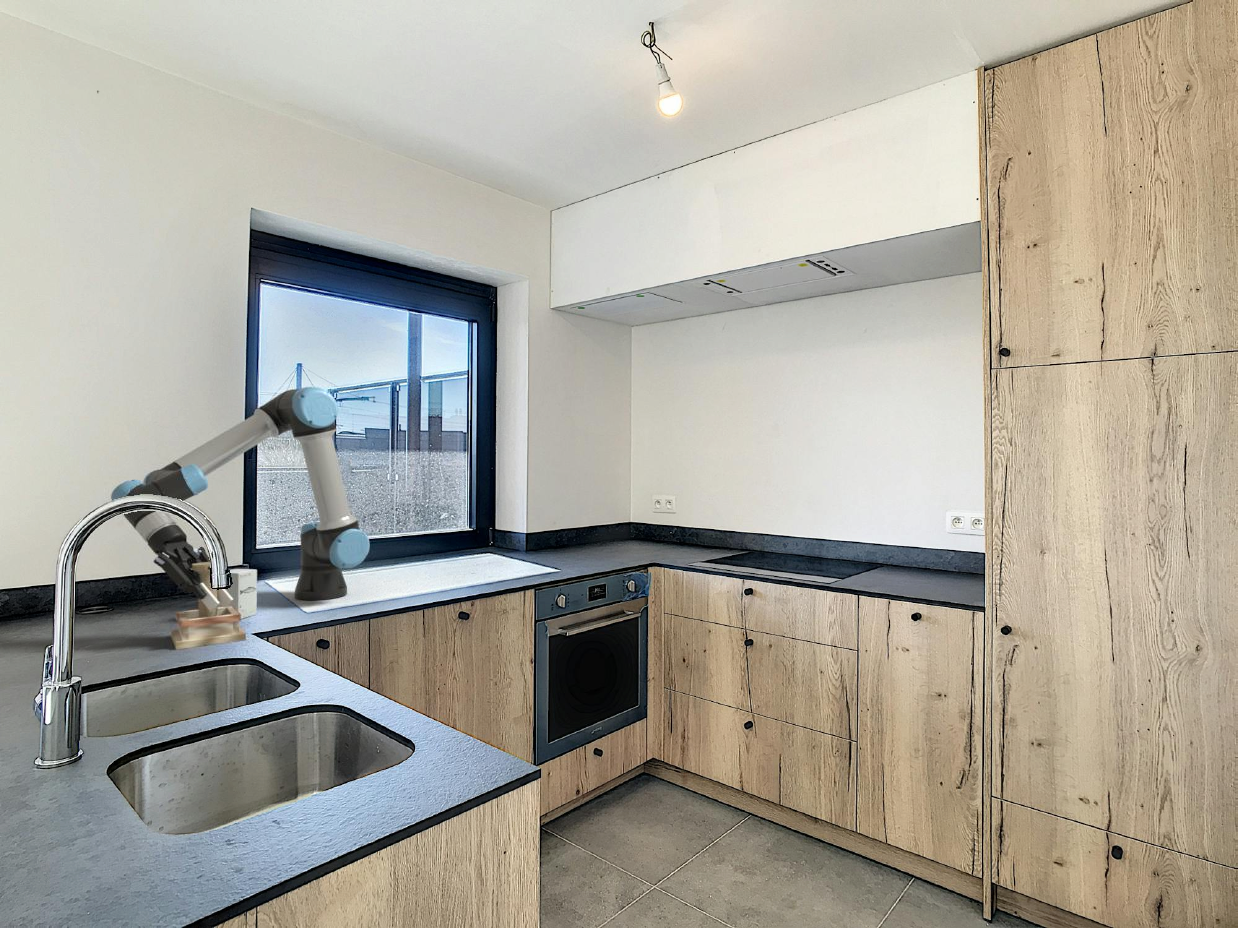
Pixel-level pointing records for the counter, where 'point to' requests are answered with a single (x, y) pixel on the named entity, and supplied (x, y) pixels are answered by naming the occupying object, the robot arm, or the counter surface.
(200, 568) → the handle
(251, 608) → the supplement box
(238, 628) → the board
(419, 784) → the counter surface
